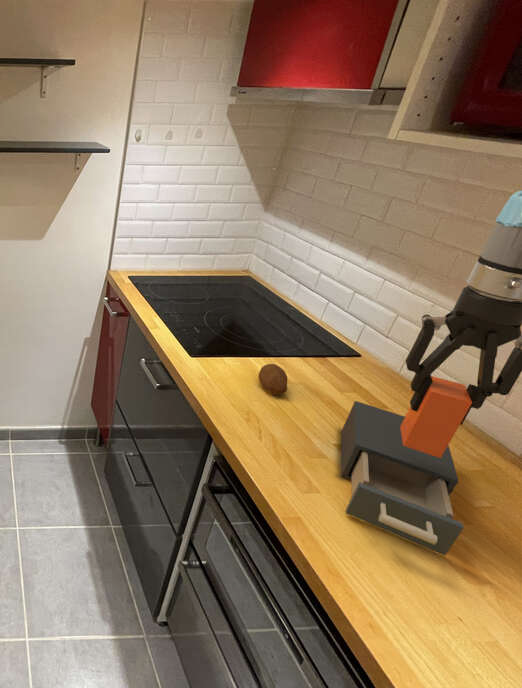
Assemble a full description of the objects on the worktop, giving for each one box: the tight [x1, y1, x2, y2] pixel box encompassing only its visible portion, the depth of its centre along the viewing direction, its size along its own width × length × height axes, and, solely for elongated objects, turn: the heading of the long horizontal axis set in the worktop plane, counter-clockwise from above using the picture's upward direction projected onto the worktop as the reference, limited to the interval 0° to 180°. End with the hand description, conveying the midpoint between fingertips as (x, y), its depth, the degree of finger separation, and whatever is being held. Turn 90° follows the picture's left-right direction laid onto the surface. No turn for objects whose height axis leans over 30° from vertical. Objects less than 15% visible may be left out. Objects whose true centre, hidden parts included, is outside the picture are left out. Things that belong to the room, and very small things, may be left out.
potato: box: [258, 363, 288, 395], centre depth 117 cm, size 7×10×6 cm
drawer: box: [345, 450, 465, 557], centre depth 81 cm, size 20×14×7 cm
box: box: [400, 375, 472, 458], centre depth 78 cm, size 5×6×12 cm
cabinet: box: [340, 400, 460, 497], centre depth 92 cm, size 17×15×9 cm
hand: (434, 412), depth 78 cm, fingers closed on box, 5 cm apart
